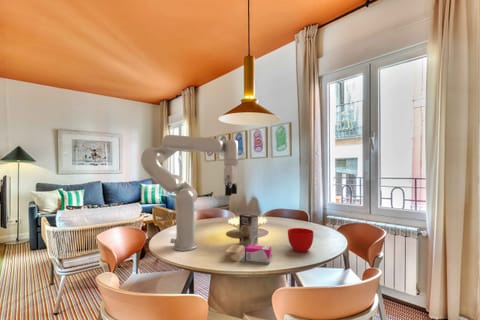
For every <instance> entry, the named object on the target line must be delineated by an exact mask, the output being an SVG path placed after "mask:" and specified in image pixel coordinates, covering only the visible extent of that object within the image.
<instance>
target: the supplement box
mask: <svg viewBox="0 0 480 320" xmlns="http://www.w3.org/2000/svg"><path fill="white" fill-rule="evenodd" d="M244 255H245V261H256V262H266V263H269V264H270V263H271V260H272V258H271V255H272V246H269V245H267V246H265V245H258V244H256V245H246V246H245V247H244Z"/></svg>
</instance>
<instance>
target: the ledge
mask: <svg viewBox="0 0 480 320" xmlns="http://www.w3.org/2000/svg"><path fill="white" fill-rule="evenodd" d="M224 253H225V255H224V257H225V258H224V260H225V261H228V262H240V260H241V259H242V258H243V256H244V255H245V245H243V244H241V245H239V244H232V245H231V246H229V248H227V249H226V250H225V252H224Z"/></svg>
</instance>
